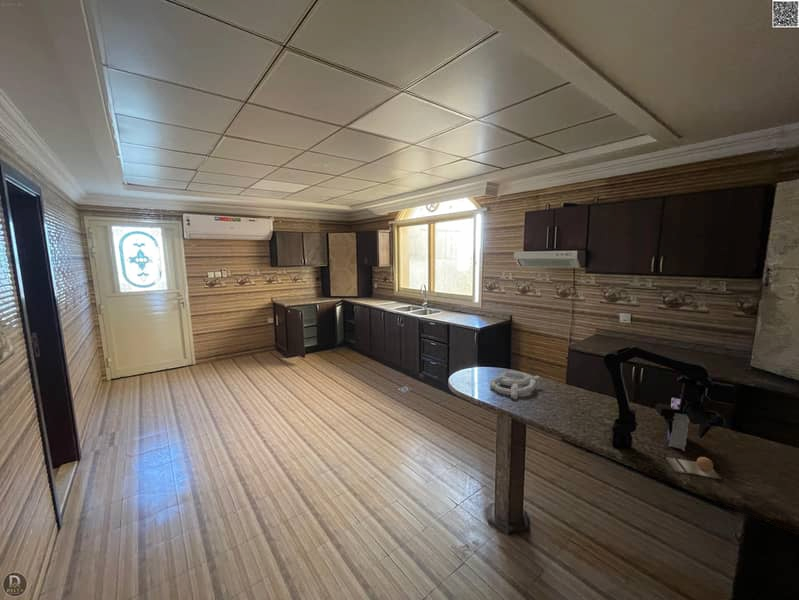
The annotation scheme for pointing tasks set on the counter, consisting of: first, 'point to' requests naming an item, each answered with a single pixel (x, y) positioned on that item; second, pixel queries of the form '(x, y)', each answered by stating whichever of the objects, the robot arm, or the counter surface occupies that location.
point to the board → (691, 468)
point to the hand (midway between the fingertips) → (685, 435)
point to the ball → (704, 463)
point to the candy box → (678, 429)
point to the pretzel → (514, 383)
